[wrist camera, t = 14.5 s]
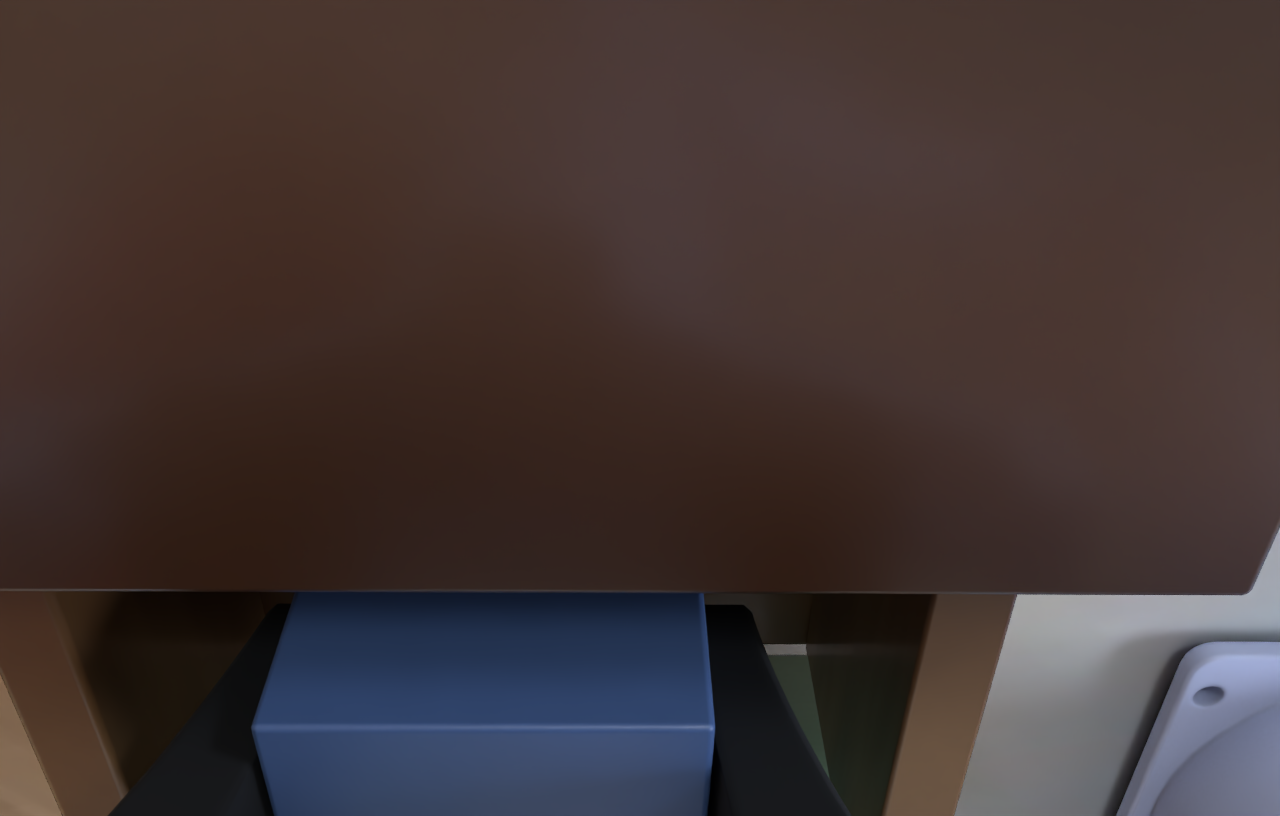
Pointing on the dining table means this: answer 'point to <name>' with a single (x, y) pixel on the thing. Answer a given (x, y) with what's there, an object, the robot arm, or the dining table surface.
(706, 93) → the cabinet
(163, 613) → the drawer
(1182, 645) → the dining table surface
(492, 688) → the block
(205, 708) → the robot arm
